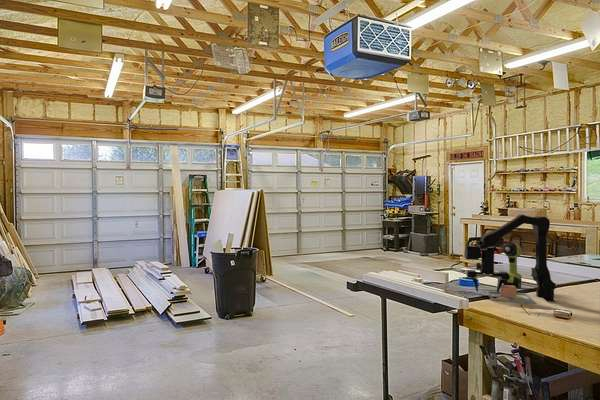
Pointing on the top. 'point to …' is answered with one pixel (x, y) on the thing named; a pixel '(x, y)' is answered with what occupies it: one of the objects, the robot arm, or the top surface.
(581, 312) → the top surface
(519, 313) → the top surface
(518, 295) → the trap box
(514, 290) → the block
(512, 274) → the cordless drill
